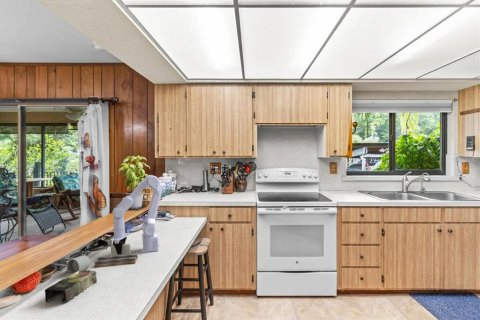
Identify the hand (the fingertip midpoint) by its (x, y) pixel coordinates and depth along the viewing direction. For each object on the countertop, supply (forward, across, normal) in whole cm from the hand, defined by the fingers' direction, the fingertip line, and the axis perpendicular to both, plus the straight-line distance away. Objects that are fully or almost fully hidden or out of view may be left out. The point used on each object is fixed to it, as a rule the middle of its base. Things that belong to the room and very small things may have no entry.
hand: (120, 252), depth 168 cm
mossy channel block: (+2, +41, -10) cm, 43 cm away
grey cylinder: (+2, +19, -16) cm, 25 cm away
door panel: (+2, 0, 0) cm, 2 cm away
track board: (+2, +11, 0) cm, 11 cm away
